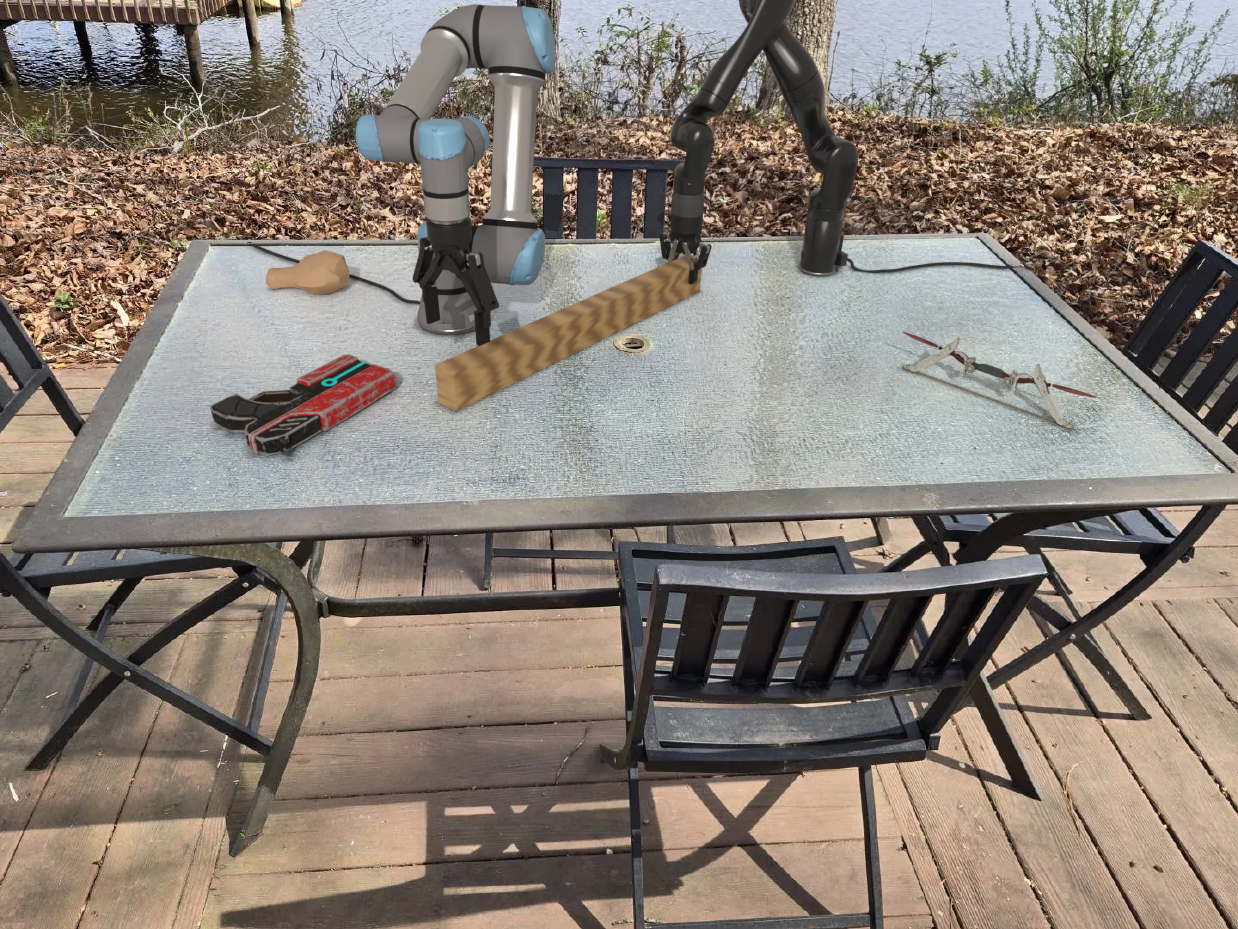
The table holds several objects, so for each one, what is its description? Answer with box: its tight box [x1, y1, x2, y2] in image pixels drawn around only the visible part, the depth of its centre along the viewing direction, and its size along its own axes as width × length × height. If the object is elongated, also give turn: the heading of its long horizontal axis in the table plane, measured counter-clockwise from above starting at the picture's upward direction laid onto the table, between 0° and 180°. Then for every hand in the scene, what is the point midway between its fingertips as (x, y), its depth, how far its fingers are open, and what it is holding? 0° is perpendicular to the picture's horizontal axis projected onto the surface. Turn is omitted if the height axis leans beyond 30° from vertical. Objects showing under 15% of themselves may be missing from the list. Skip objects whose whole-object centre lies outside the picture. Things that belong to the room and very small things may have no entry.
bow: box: [901, 330, 1097, 429], centre depth 171 cm, size 39×2×10 cm, turn 47°
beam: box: [434, 255, 703, 412], centre depth 189 cm, size 79×5×8 cm, turn 140°
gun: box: [209, 353, 398, 457], centre depth 162 cm, size 4×31×19 cm
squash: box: [265, 250, 350, 296], centre depth 208 cm, size 11×20×9 cm, turn 90°
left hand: (457, 332), depth 160 cm, fingers open, 13 cm apart
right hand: (682, 280), depth 212 cm, fingers closed on beam, 5 cm apart
